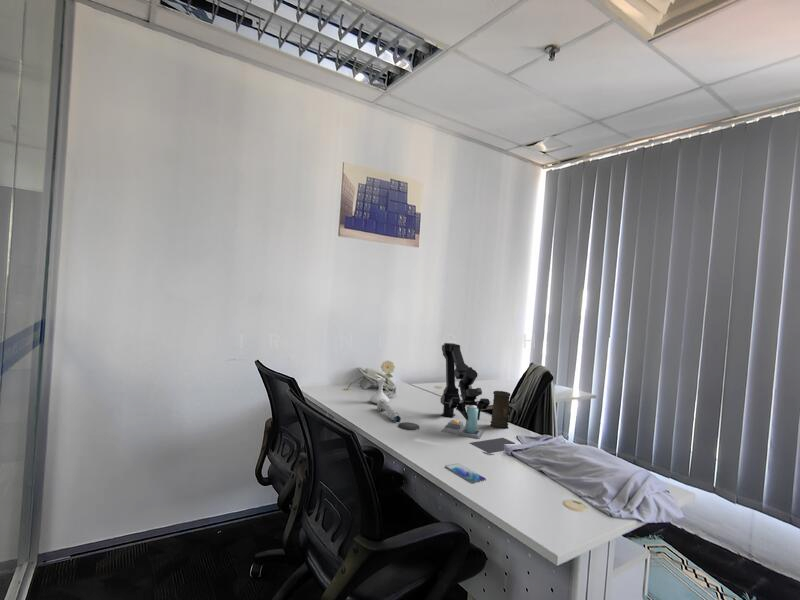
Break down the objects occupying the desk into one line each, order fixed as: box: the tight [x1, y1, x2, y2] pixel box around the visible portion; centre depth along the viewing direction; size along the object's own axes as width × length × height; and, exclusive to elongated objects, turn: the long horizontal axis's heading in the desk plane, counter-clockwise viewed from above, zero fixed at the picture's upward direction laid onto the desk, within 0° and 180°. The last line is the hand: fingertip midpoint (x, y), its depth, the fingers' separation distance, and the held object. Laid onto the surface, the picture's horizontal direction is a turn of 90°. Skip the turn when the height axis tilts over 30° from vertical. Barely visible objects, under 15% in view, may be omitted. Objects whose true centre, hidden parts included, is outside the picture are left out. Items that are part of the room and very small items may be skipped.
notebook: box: [469, 437, 516, 456], centre depth 182 cm, size 13×2×21 cm
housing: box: [440, 419, 486, 440], centre depth 198 cm, size 16×18×3 cm
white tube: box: [376, 399, 402, 424], centre depth 217 cm, size 5×7×25 cm
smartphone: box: [444, 463, 487, 484], centre depth 151 cm, size 7×1×15 cm
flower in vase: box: [369, 359, 396, 404], centre depth 241 cm, size 13×11×25 cm
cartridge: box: [464, 405, 479, 435], centre depth 194 cm, size 5×5×13 cm
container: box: [489, 390, 511, 430], centre depth 210 cm, size 9×9×18 cm
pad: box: [398, 421, 420, 431], centre depth 200 cm, size 10×10×1 cm
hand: (472, 419), depth 192 cm, fingers closed on cartridge, 5 cm apart
